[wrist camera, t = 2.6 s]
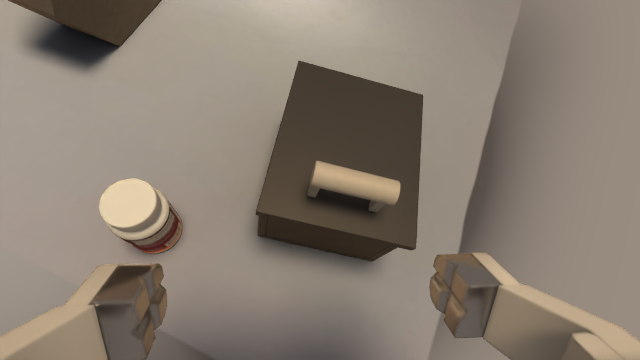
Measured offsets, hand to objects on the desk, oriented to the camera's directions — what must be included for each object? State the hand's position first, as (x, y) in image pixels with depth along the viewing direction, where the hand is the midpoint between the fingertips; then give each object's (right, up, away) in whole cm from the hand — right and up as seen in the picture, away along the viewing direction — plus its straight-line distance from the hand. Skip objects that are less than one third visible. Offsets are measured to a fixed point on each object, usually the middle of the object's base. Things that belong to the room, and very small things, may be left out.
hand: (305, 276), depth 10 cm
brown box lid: (+3, +6, +19) cm, 20 cm away
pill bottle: (-16, -2, +23) cm, 28 cm away
